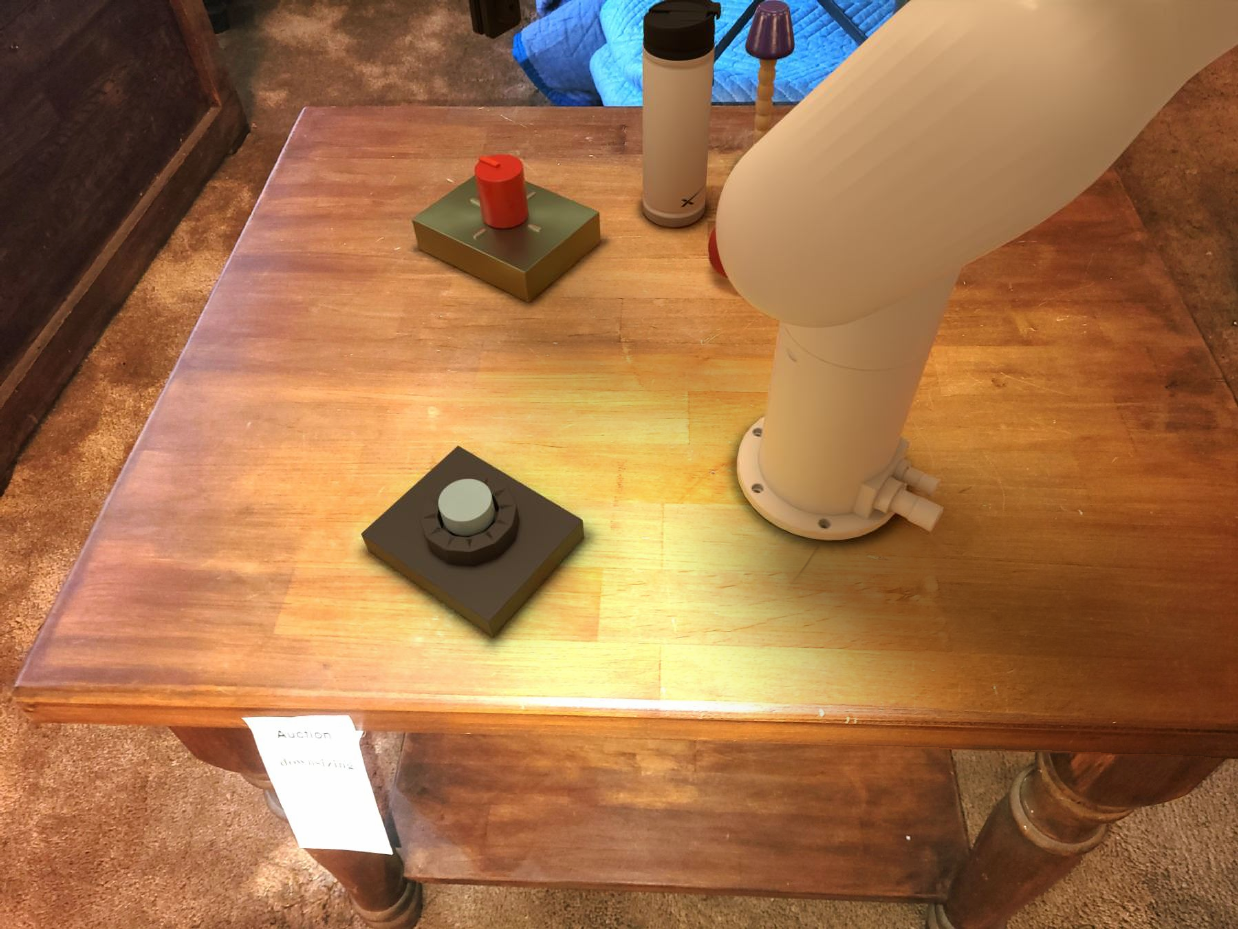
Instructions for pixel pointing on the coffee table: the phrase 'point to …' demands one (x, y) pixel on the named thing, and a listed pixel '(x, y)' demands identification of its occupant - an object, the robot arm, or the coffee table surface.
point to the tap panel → (509, 238)
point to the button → (466, 507)
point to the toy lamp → (768, 55)
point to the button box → (475, 542)
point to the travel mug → (677, 108)
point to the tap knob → (501, 190)
